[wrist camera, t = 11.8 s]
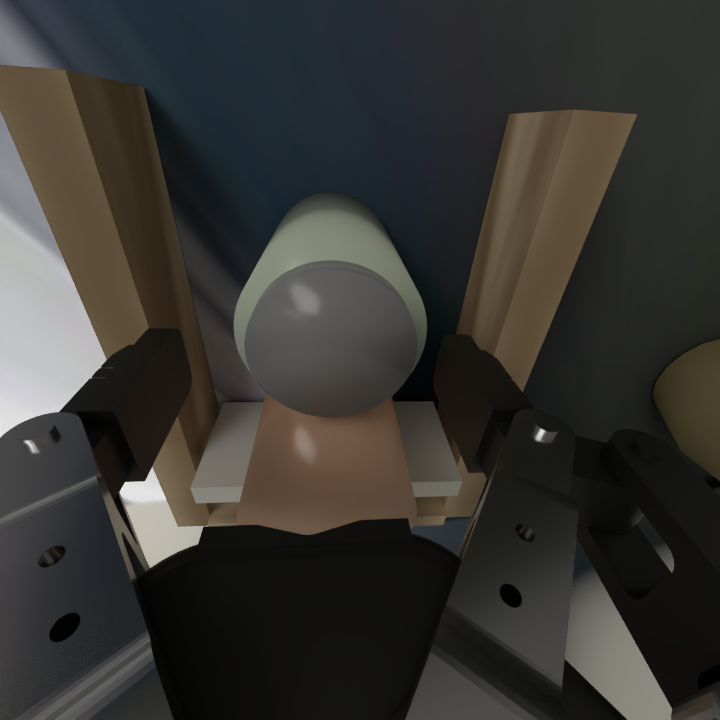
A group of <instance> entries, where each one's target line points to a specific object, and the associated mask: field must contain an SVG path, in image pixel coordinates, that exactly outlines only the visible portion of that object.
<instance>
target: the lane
mask: <svg viewBox="0 0 720 720" xmlns="http://www.w3.org/2000/svg"><path fill="white" fill-rule="evenodd" d="M0 111H1V113H2V115H3V118H4V120H5V122H6V125H7V127H8V130H9V132H10V134H11V137H12V139H13V141H14V144H15V146H16V148H17V151H18V153H19V155H20V158H21V160H22V162H23V165H24V167H25V169H26V172H27V174H28V176H29V179H30V181H31V183H32V186H33V188H34V190H35V193H36V195H37V197H38V200H39V202H40V204H41V207H42V209H43V211H44V214H45V216H46V218H47V221H48V223H49V225H50V228H51V230H52V232H53V235H54V237H55V239H56V242H57V244H58V247H59V249H60V251H61V254H62V256H63V258H64V261H65V263H66V265H67V268H68V270H69V272H70V275H71V277H72V279H73V282H74V284H75V286H76V289H77V291H78V293H79V296H80V298H81V300H82V303H83V305H84V307H85V310H86V312H87V314H88V317H89V319H90V321H91V324H92V326H93V328H94V331H95V333H96V335H97V338H98V340H99V342H100V345H101V347H102V349H103V352H104V354H105V357H106V359H108V358H109V357H110V356H111V355H112V354H114V353H116V352H117V351H119V350H121V349H122V348H124V347H126V346H128V345H134V344H135V343H136V341H137V340H138V339H139V338H140V337H141V336H142V334H143V333H144V332H145V331H146V330H147V329H149V328H171V329H178V330H179V331H180V332H181V334H182V337H183V341H184V345H185V349H186V353H187V357H188V361H189V365H190V369H191V374H192V384H191V389H190V392H189V394H188V396H187V398H186V400H185V402H184V404H183V406H182V408H181V410H180V412H179V414H178V416H177V418H176V420H175V422H174V424H173V426H172V428H171V430H170V432H169V434H168V436H167V438H166V440H165V442H164V444H163V446H162V448H161V450H160V452H159V454H158V456H157V458H156V460H155V462H154V464H153V469H154V471H155V474H156V476H157V478H158V481H159V483H160V485H161V488H162V490H163V492H164V495H165V497H166V499H167V502H168V504H169V506H170V508H171V511H172V513H173V516H174V518H175V520H176V523H177V525H178V527H180V526H208V527H210V526H233V525H238V524H237V510H238V506H239V502H226V503H195V500H194V497H193V494H192V491H191V488H190V487H191V485H192V482H193V480H194V477H195V475H196V472H197V469H198V467H199V464H200V462H201V459H202V457H203V454H204V451H205V449H206V446H207V444H208V441H209V439H210V436H211V433H212V431H213V428H214V426H215V423H216V421H217V418H218V415H219V410H218V406H217V402H216V398H215V393H214V389H213V385H212V380H211V376H210V372H209V367H208V363H207V359H206V354H205V350H204V346H203V341H202V337H201V333H200V328H199V324H198V320H197V316H196V311H195V307H194V303H193V298H192V294H191V290H190V285H189V281H188V277H187V272H186V268H185V264H184V259H183V255H182V251H181V247H180V242H179V238H178V234H177V229H176V225H175V221H174V216H173V212H172V208H171V203H170V199H169V195H168V190H167V186H166V182H165V178H164V173H163V169H162V165H161V160H160V156H159V152H158V147H157V143H156V139H155V134H154V130H153V126H152V121H151V117H150V113H149V109H148V104H147V100H146V96H145V91H144V87H142V86H137V85H133V84H128V83H123V82H119V81H114V80H109V79H105V78H100V77H95V76H91V75H86V74H81V73H77V72H72V71H67V70H58V69H45V68H32V67H19V66H6V65H0ZM636 116H637V114H625V113H612V112H599V111H586V110H562V111H547V112H533V113H519V114H509V117H508V121H507V125H506V129H505V133H504V137H503V141H502V146H501V150H500V154H499V158H498V162H497V166H496V170H495V174H494V178H493V183H492V187H491V191H490V195H489V199H488V203H487V207H486V211H485V215H484V220H483V224H482V228H481V232H480V236H479V240H478V244H477V248H476V252H475V257H474V261H473V265H472V269H471V273H470V277H469V281H468V285H467V289H466V294H465V298H464V302H463V306H462V310H461V314H460V318H459V322H458V326H457V331H456V334H468V335H470V336H471V337H472V338H473V340H474V341H475V343H476V344H477V346H478V347H479V348H480V350H486V351H487V352H488V353H490V354H491V355H493V356H494V357H496V358H497V359H498V360H499V361H500V363H501V364H502V365H503V367H504V368H505V369H506V372H508V373H509V375H510V376H511V378H512V381H514V382H515V383H516V384H517V386H518V387H519V388H520V390H521V391H522V392H523V390H524V387H525V385H526V383H527V380H528V378H529V375H530V373H531V370H532V368H533V366H534V363H535V361H536V358H537V356H538V354H539V351H540V349H541V346H542V344H543V341H544V339H545V337H546V334H547V332H548V329H549V327H550V324H551V322H552V320H553V317H554V315H555V312H556V310H557V307H558V305H559V303H560V300H561V298H562V295H563V293H564V290H565V288H566V286H567V283H568V281H569V278H570V276H571V274H572V271H573V269H574V266H575V264H576V261H577V259H578V257H579V254H580V252H581V249H582V247H583V244H584V242H585V240H586V237H587V235H588V232H589V230H590V227H591V225H592V223H593V220H594V218H595V215H596V213H597V210H598V208H599V206H600V203H601V201H602V198H603V196H604V194H605V191H606V189H607V186H608V184H609V181H610V179H611V177H612V174H613V172H614V169H615V167H616V164H617V162H618V160H619V157H620V155H621V152H622V150H623V147H624V145H625V143H626V140H627V138H628V135H629V133H630V130H631V128H632V126H633V123H634V121H635V118H636ZM437 414H438V416H439V419H440V422H441V424H442V427H443V430H444V432H445V435H446V438H447V440H448V443H449V446H450V448H451V451H452V454H453V457H454V459H455V462H456V465H457V467H458V470H459V473H460V475H461V478H462V481H463V482H462V484H461V487H460V490H459V493H458V496H434V497H415V501H416V506H417V517H416V520H415V523H414V525H413V526H430V525H443V523H444V521H445V518H446V517H470V516H472V513H473V511H474V509H475V506H476V504H477V501H478V499H479V497H480V494H481V492H482V489H483V487H484V484H485V482H486V480H487V479H486V476H485V474H484V473H468V471H467V468H466V466H465V464H464V461H463V459H462V456H461V454H460V452H459V449H458V447H457V444H456V442H455V440H454V437H453V435H452V432H451V430H450V428H449V425H448V423H447V420H446V418H445V416H444V413H443V411H442V408H441V406H440V403H439V405H438V409H437Z"/></svg>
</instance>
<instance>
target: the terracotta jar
mask: <svg viewBox="0 0 720 720" xmlns="http://www.w3.org/2000/svg"><path fill="white" fill-rule="evenodd" d="M416 517H417V506H416V501H415V496H414V492H413V487H412V483H411V479H410V474H409V470H408V465H407V461H406V456H405V452H404V448H403V443H402V439H401V434H400V430H399V426H398V421H397V417H396V412H395V408H394V403H393V399H392V396H391V397H390V398H389V399H388V400H386V401H385V402H383V403H381V404H380V405H378V406H376V407H374V408H372V409H370V410H368V411H365V412H362V413H359V414H355V415H350V416H344V417H319V416H312V415H308V414H304V413H300V412H298V411H295V410H292V409H290V408H288V407H286V406H284V405H282V404H281V403H279V402H277V401H276V400H274V399H273V398H272V397H271V396H270V395H268V394H267V393H266V396H265V400H264V404H263V408H262V412H261V416H260V420H259V424H258V428H257V432H256V436H255V441H254V445H253V449H252V453H251V457H250V461H249V465H248V469H247V473H246V477H245V481H244V486H243V490H242V494H241V498H240V502H239V506H238V510H237V524H238V525H261V526H265V527H270V528H275V529H279V530H284V531H289V532H293V533H298V534H303V535H312V534H316V533H319V532H323V531H326V530H329V529H333V528H336V527H339V526H342V525H346V524H349V523H352V522H355V521H359V520H373V519H396V518H408V520H409V525H410V529H412V527H413V525H414V523H415V520H416Z"/></svg>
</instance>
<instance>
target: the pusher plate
mask: <svg viewBox="0 0 720 720" xmlns="http://www.w3.org/2000/svg"><path fill="white" fill-rule="evenodd" d="M393 403H394V408H395V412H396V417H397V421H398V426H399V430H400V434H401V439H402V443H403V448H404V452H405V456H406V461H407V465H408V470H409V474H410V479H411V483H412V487H413V492H414V496H415V497H434V496H458V493H459V490H460V487H461V484H462V482H463V481H462V478H461V475H460V473H459V470H458V467H457V465H456V462H455V459H454V457H453V454H452V451H451V448H450V446H449V443H448V440H447V438H446V435H445V432H444V430H443V427H442V424H441V422H440V419H439V416H438V414H437V411H436V408H435V406H434V403H433V401H409V402H393ZM263 404H264V402H224V403H223V405H222V408H221V410H220V413H219V415H218V418H217V421H216V423H215V426H214V428H213V431H212V433H211V436H210V439H209V441H208V444H207V446H206V449H205V451H204V454H203V457H202V459H201V462H200V464H199V467H198V469H197V472H196V475H195V477H194V480H193V482H192V485H191V487H190V488H191V491H192V494H193V497H194V500H195V503H226V502H240V498H241V494H242V490H243V486H244V481H245V477H246V473H247V469H248V465H249V461H250V457H251V453H252V449H253V445H254V441H255V436H256V432H257V428H258V424H259V420H260V416H261V412H262V408H263Z"/></svg>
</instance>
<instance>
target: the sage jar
mask: <svg viewBox="0 0 720 720" xmlns="http://www.w3.org/2000/svg"><path fill="white" fill-rule="evenodd" d="M426 335H427V319H426V313H425V308H424V305H423V302H422V299H421V297H420V295H419V293H418V291H417V289H416V287H415V285H414V283H413V281H412V279H411V277H410V276H409V274H408V272H407V270H406V268H405V266H404V264H403V262H402V260H401V259H400V257H399V255H398V253H397V251H396V249H395V247H394V245H393V243H392V242H391V240H390V238H389V236H388V234H387V232H386V230H385V228H384V226H383V225H382V223H381V221H380V219H379V218H378V217H377V215H376V214H375V213H374V212H373V211H372V210H371V209H370V208H369V207H368V206H367V205H366V204H364V203H363V202H361V201H360V200H358V199H356V198H354V197H352V196H349V195H346V194H342V193H335V192H325V193H318V194H315V195H311V196H309V197H307V198H304V199H302V200H301V201H299V202H298V203H296V204H295V205H294V206H293V207H292V208H291V209H289V211H288V212H287V213H286V214H285V215H284V217H283V219H282V220H281V222H280V224H279V226H278V227H277V229H276V231H275V233H274V235H273V236H272V238H271V240H270V242H269V244H268V245H267V247H266V249H265V251H264V253H263V254H262V256H261V258H260V260H259V262H258V263H257V265H256V267H255V269H254V271H253V272H252V274H251V276H250V278H249V280H248V281H247V283H246V285H245V287H244V289H243V290H242V292H241V295H240V297H239V300H238V302H237V306H236V310H235V314H234V337H235V341H236V346H237V349H238V352H239V354H240V357H241V359H242V361H243V362H244V364H245V366H246V368H247V369H248V370H249V372H250V373H251V374H252V376H253V377H254V378H255V380H256V381H257V383H258V384H259V385H260V387H261V388H262V389H263V390H264V391H265V392H266V393H267V394H268V395H270V396H271V397H272V398H273V399H274V400H276V401H277V402H279V403H281V404H282V405H284V406H286V407H288V408H290V409H292V410H295V411H298V412H300V413H304V414H308V415H312V416H319V417H344V416H350V415H355V414H359V413H362V412H365V411H368V410H370V409H372V408H374V407H376V406H378V405H380V404H381V403H383V402H385V401H386V400H388V399H389V398H390V397H391V396H393V395H394V394H395V393H396V392H397V391H398V390H399V389H400V388H401V386H402V385H403V384H404V383H405V381H406V380H407V378H408V376H409V375H410V374H411V373H412V371H413V370H414V368H415V367H416V365H417V363H418V362H419V359H420V357H421V355H422V353H423V349H424V346H425V342H426Z"/></svg>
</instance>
